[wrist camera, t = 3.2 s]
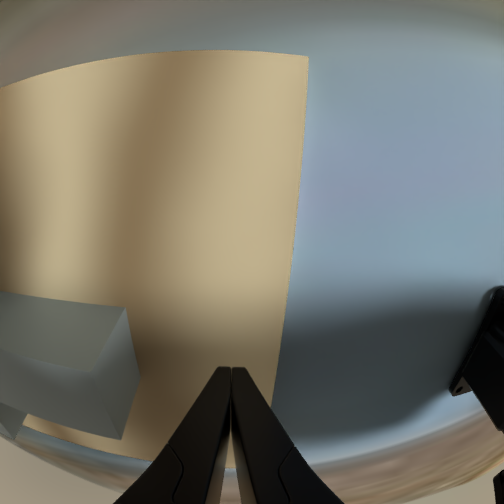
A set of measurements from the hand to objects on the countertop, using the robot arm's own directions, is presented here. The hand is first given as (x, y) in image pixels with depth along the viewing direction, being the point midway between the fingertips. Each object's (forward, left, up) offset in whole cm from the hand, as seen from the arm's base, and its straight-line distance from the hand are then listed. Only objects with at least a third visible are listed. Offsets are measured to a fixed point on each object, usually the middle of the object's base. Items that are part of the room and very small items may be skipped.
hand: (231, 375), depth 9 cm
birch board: (+9, 0, -2) cm, 10 cm away
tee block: (+8, 0, -1) cm, 8 cm away
